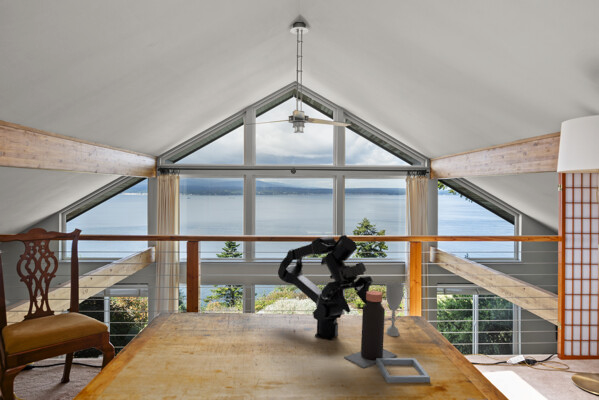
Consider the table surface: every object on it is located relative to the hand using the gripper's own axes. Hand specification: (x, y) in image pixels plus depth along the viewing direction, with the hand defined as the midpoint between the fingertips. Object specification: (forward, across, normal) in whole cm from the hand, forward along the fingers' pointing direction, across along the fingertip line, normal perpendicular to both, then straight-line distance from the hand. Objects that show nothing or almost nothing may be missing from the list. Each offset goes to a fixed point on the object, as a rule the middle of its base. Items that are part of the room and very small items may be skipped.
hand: (359, 309), depth 135 cm
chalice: (+7, +22, +13) cm, 26 cm away
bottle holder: (+22, 0, -3) cm, 22 cm away
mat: (+14, 0, +6) cm, 15 cm away
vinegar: (+14, 0, +5) cm, 15 cm away
